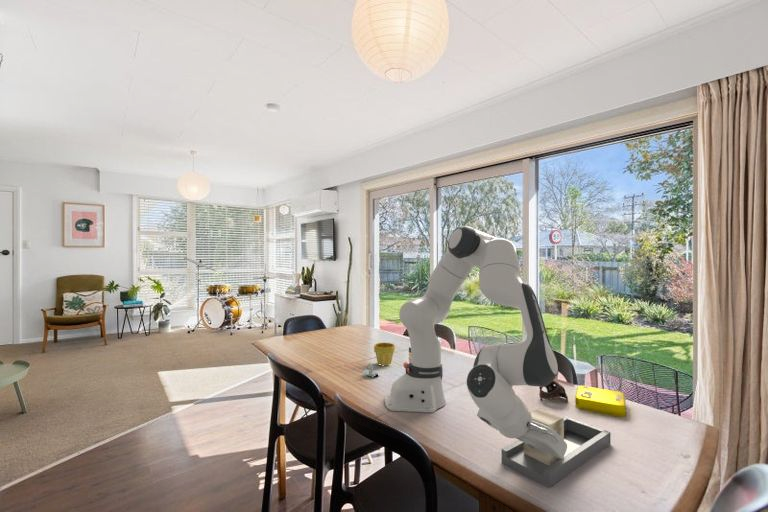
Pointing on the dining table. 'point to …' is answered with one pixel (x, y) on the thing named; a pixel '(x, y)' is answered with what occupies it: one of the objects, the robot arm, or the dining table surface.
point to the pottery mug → (553, 391)
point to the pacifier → (370, 370)
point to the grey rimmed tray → (580, 449)
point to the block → (551, 422)
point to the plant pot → (384, 353)
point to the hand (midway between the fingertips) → (534, 445)
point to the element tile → (600, 401)
